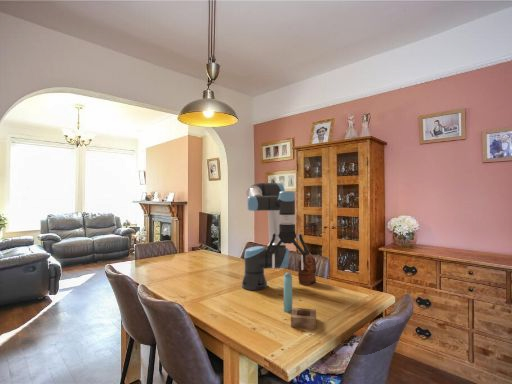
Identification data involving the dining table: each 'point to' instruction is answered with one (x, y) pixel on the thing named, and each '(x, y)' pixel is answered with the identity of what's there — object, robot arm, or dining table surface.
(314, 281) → the wooden figurine
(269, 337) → the dining table surface
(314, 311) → the brown open box
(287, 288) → the teal long bar
